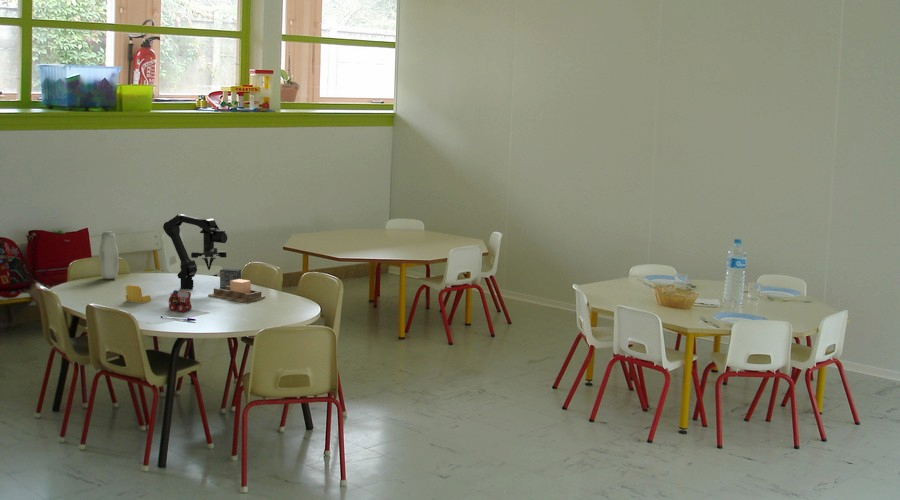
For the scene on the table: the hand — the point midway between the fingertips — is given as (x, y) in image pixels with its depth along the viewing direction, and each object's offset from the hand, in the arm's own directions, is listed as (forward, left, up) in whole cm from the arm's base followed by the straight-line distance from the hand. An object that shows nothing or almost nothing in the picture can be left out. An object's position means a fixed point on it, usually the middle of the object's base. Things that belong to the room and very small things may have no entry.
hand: (208, 269), depth 542 cm
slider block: (+16, -19, -11) cm, 27 cm away
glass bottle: (-55, +41, -12) cm, 70 cm away
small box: (+12, +9, -12) cm, 19 cm away
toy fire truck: (-15, -47, -12) cm, 51 cm away
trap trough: (+14, -17, -12) cm, 25 cm away
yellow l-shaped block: (-36, -22, -12) cm, 44 cm away
